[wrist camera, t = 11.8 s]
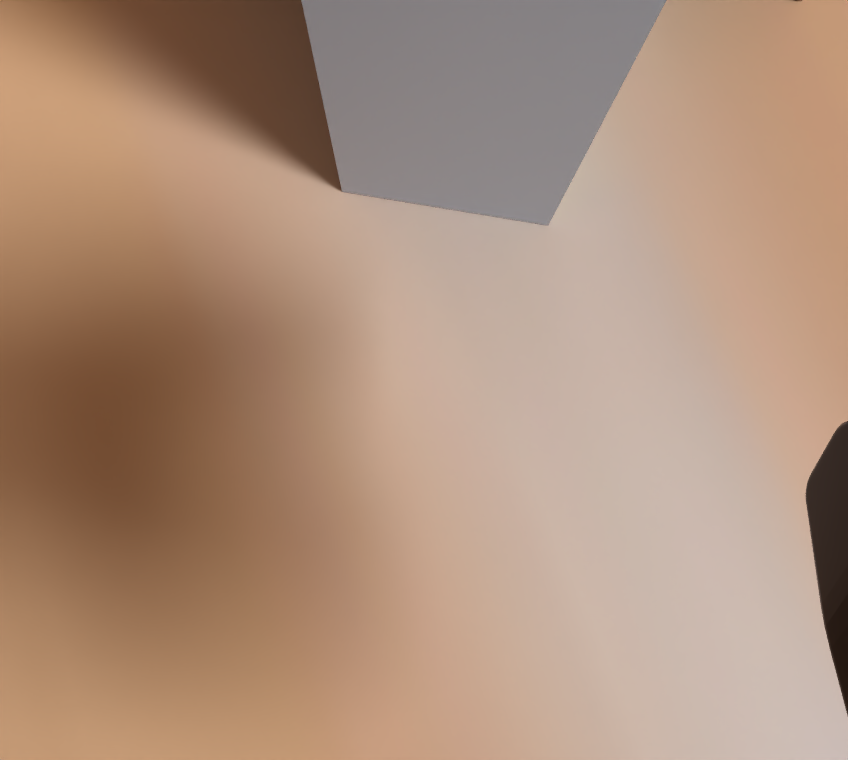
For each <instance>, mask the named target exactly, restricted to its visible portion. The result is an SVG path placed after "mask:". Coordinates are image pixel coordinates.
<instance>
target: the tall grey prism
mask: <svg viewBox="0 0 848 760" xmlns="http://www.w3.org/2000/svg"><path fill="white" fill-rule="evenodd" d="M301 1H302V6H303V11H304V15H305V20H306V25H307V29H308V34H309V39H310V44H311V48H312V53H313V58H314V62H315V67H316V72H317V76H318V81H319V86H320V91H321V95H322V100H323V105H324V109H325V114H326V119H327V123H328V128H329V133H330V138H331V142H332V147H333V152H334V156H335V161H336V166H337V170H338V175H339V180H340V185H341V189H342V192H347V193H354V194H360V195H366V196H372V197H378V198H384V199H390V200H396V201H402V202H408V203H414V204H420V205H427V206H433V207H439V208H445V209H451V210H457V211H463V212H469V213H475V214H481V215H487V216H493V217H500V218H506V219H512V220H518V221H524V222H530V223H536V224H542V225H549V223H550V221H551V219H552V217H553V215H554V213H555V211H556V210H557V208H558V206H559V204H560V202H561V200H562V198H563V196H564V194H565V192H566V190H567V189H568V187H569V185H570V183H571V181H572V179H573V177H574V175H575V173H576V171H577V170H578V168H579V166H580V164H581V162H582V160H583V158H584V156H585V154H586V152H587V150H588V149H589V147H590V145H591V143H592V141H593V139H594V137H595V135H596V133H597V131H598V130H599V128H600V126H601V124H602V122H603V120H604V118H605V116H606V114H607V112H608V110H609V109H610V107H611V105H612V103H613V101H614V99H615V97H616V95H617V93H618V91H619V90H620V88H621V86H622V84H623V82H624V80H625V78H626V76H627V74H628V72H629V70H630V69H631V67H632V65H633V63H634V61H635V59H636V57H637V55H638V53H639V51H640V50H641V48H642V46H643V44H644V42H645V40H646V38H647V36H648V34H649V32H650V31H651V29H652V27H653V25H654V23H655V21H656V19H657V17H658V15H659V13H660V11H661V10H662V8H663V6H664V4H665V2H666V0H301Z"/></svg>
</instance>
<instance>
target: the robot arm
mask: <svg viewBox="0 0 848 760" xmlns="http://www.w3.org/2000/svg"><path fill="white" fill-rule="evenodd" d="M806 504H807V511H808V518H809V525H810V532H811V539H812V546H813V553H814V560H815V567H816V574H817V581H818V588H819V595H820V602H821V609H822V614H823V620H824V625H825V630H826V634H827V638H828V642H829V647H830V651H831V654H832V658H833V662H834V666H835V670H836V673H837V677H838V681H839V685H840V688H841V692H842V696H843V700H844V704H845V707H846V711H847V715H848V421H847V422H844V423H842V424H841V425H840V426H839V427H838V428H837V430H836V431H835V433H834V434H833V436H832V438H831V440H830V441H829V443H828V445H827V447H826V448H825V450H824V452H823V454H822V455H821V457H820V459H819V461H818V462H817V464H816V466H815V468H814V470H813V471H812V473H811V475H810V477H809V480H808V483H807V488H806Z"/></svg>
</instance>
